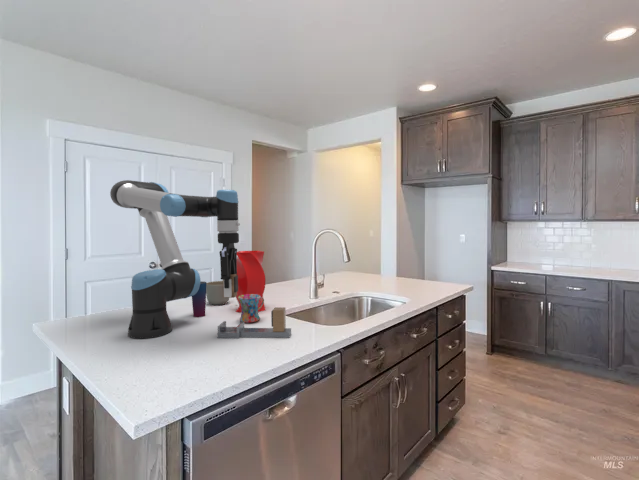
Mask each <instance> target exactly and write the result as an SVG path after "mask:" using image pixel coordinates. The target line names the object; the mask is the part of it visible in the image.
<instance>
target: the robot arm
mask: <svg viewBox="0 0 639 480" xmlns="http://www.w3.org/2000/svg"><path fill="white" fill-rule="evenodd" d="M109 193H110V194H109V195H110V198H111V200H112V202H113V203H114V204H115V205H117V206H118V207H121V208H125V209H134V210H135V209H136V210H137V211H138V213H139V216H140V217H142V218H144V220H145V222H146V225H147V227H148V230H149V233H150V236H151V238H152V239H151V240H152V241H153V244H154V247H155V249H156V253H157V257H158V259H159V262H160V264H161V269H160V268H159V269H158V268H157V269H149V270H145V271H140V272H138V273H136V274H134V275H133V276H132V277H131V286H130V287H131V300H132V301H131V303H132V305H131V308H132V315H131V319H130V322H129V324H128V327H127V337H130V338H132V339H150V338H157V337H162V336H164V335H168V334H169V333H170V332H172V330H173V325H172V321H171V319H170V316H169V314H168V311H167V303H168V302H172V301H176V300H182V299H187V298H190V297H192V296H193V295H195V294H196V293H197V292H198V290H199V286H200V281H201V276H200V273H199V271H198V270H196V269H195V268H192V267H191V266H190V264H189V262H188V261H186V260H184V257H183V255H182V253H181V250H180V247H179V245H178V244H179V243H178V242H177V240H176V236H175V233H174V230H173V228H172V226H171V225H172V224H171V222H170V220H169V218H168V217H190V218H191V217H199V218H210V217H211V218H212V217H217V218H216V220H217V221H216V222H217V223H216V224H217V228H216V229H217V232H218V233H217V242H218V244H222V248H221V250H220V251H219V257H220V258H219V259H220V260H219V261H220V263H219V265H220V280H222V281H223V284H224V297H232V285H231V279H230V274H237V257H238V256H237V252H238V248H236V247H235V244H238V243H239V242H240V234H239V232H238V231H239V226H240V225H241V224H240V222H239V198H238V197H239V195H238V191H237V190H234V189H218V190H217V191H216V195H215V196H199V195H185V194H178V193H171V192H169V190H168V189H167V187H166V186H165V185H163V184H162V183H157V182H152V181H151V182H150V181H149V182H148V181H147V182H146V181H138V180H130V179H127V180H125V179H124V180H120V181H117V182H116V183H114V184H113V186H112V187H111V189H110V192H109ZM237 276H238V275H237Z"/></svg>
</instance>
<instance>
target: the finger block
mask: <svg viewBox="0 0 639 480" xmlns="http://www.w3.org/2000/svg"><path fill="white" fill-rule="evenodd" d="M230 279H231V285H232V297H224V284H223V298H229V299H231V298H236V296H237V291H238V276H237V274H230Z"/></svg>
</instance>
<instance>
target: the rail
mask: <svg viewBox="0 0 639 480" xmlns="http://www.w3.org/2000/svg"><path fill="white" fill-rule="evenodd" d="M286 316H287V315H286V307H281V306H280V307H279V306H277V307H275V306H274V308H272V310H271V315H270V317H271V327H245V322H244V321H242V322H241V321H240V323H239V324H238V325H237V326H227V321H226V320H223V321H222V322H221V323H220V324H219V325H218V326H217V333H216V335H217V339H240V338H251V339H252V338H257V339H259V338H260V339H261V338H263V339H264V338H265V339H267V338H268V339H269V338H270V339H273V338H274V339H289V338H290V337H291V335H292V327H291V328H290V327H288V328H287V327H286V326H287V325H286V322H287V321H286V320H287V318H286Z"/></svg>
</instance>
